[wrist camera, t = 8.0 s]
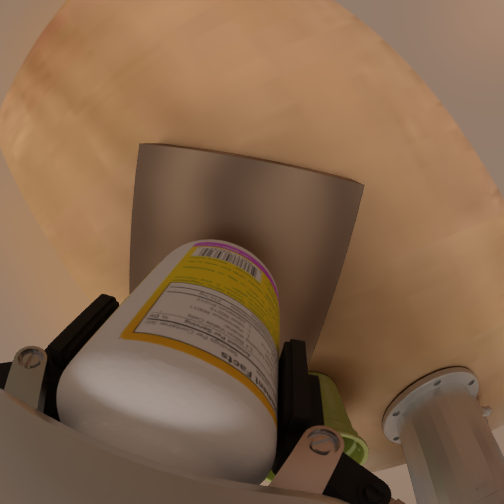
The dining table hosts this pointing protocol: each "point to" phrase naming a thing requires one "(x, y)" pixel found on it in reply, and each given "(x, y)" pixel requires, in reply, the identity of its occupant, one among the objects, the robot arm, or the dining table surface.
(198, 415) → the supplement bottle
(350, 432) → the plant pot
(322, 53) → the dining table surface
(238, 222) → the brown wooden square slab
